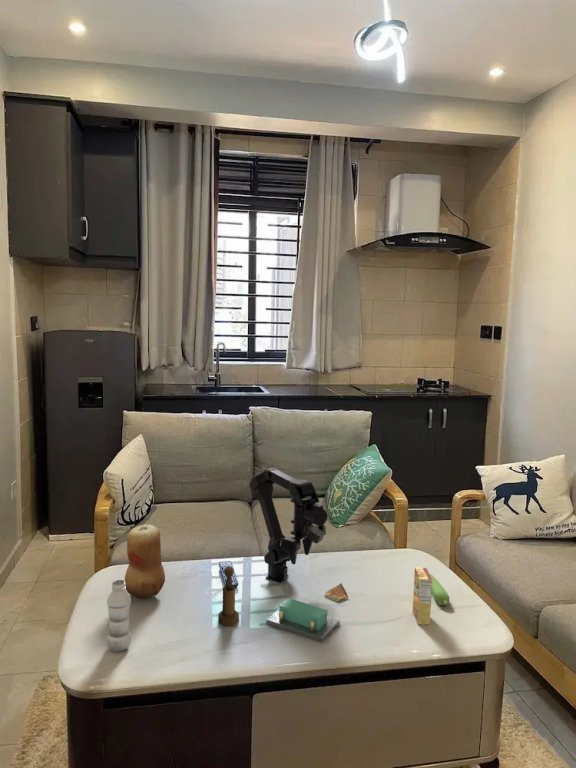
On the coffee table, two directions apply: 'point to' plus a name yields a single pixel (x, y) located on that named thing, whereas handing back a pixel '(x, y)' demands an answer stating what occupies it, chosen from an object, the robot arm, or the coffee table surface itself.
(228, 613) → the brown wooden tall piece
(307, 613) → the green rectangular block
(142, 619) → the coffee table surface
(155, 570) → the butternut squash
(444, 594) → the green cucumber
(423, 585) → the candy box
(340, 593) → the shard
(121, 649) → the plastic bottle
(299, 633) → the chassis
